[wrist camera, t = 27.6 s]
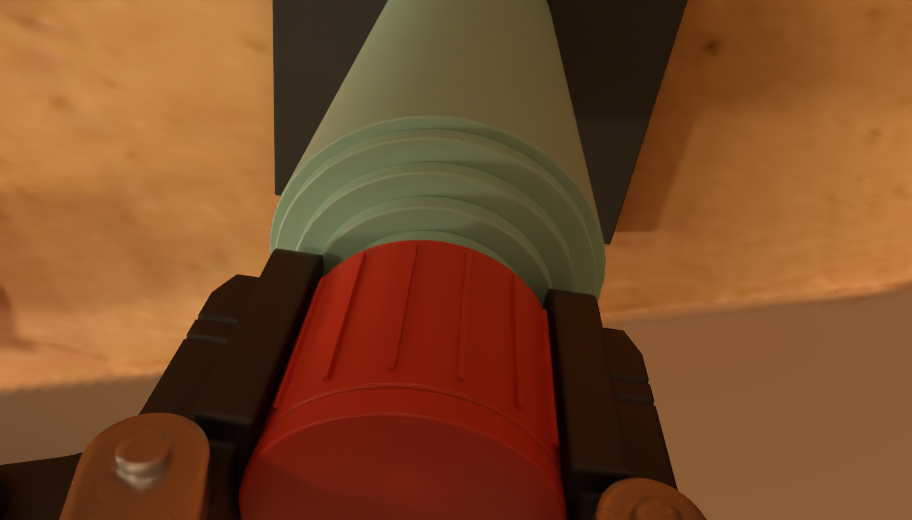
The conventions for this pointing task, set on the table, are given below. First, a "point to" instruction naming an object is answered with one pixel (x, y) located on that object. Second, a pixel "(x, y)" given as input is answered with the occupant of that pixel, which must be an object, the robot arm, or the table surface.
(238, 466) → the robot arm
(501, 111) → the bottle
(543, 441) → the cap
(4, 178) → the table surface
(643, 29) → the coaster
